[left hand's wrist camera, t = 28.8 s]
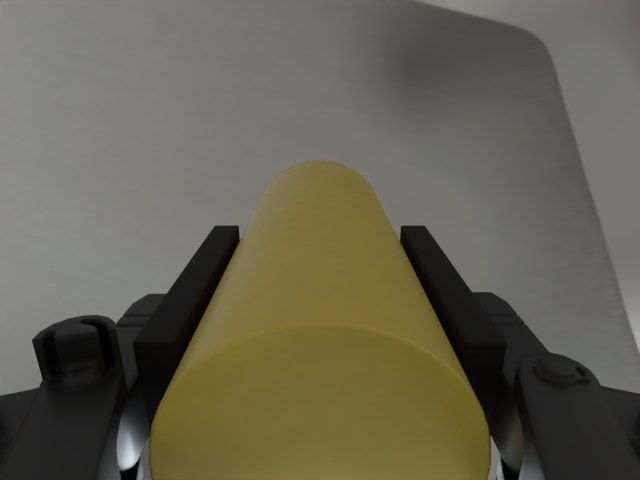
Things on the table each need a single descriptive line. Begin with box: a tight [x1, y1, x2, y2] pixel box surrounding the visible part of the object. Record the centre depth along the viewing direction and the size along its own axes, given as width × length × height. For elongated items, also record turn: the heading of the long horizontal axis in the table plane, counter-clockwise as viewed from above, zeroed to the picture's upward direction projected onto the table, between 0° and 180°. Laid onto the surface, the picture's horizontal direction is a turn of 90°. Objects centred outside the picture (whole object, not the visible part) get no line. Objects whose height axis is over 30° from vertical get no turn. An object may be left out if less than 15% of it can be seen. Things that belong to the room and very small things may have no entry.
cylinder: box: [149, 161, 491, 480], centre depth 12 cm, size 5×5×12 cm
